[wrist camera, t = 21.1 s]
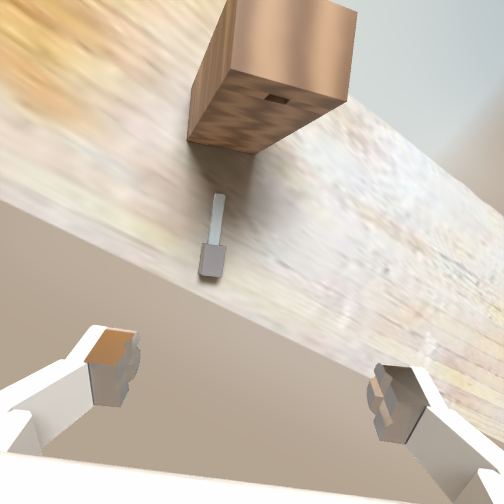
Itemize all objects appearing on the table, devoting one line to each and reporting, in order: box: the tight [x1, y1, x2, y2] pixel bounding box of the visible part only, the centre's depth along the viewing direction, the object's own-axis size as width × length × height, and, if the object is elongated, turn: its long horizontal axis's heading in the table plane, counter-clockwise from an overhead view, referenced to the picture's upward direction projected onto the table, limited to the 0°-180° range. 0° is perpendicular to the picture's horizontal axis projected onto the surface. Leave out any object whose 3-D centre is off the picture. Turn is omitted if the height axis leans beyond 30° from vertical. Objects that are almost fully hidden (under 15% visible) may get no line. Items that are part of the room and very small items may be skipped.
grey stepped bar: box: [198, 193, 226, 277], centre depth 64 cm, size 16×4×4 cm, turn 171°
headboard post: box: [187, 0, 357, 154], centre depth 50 cm, size 14×10×31 cm
